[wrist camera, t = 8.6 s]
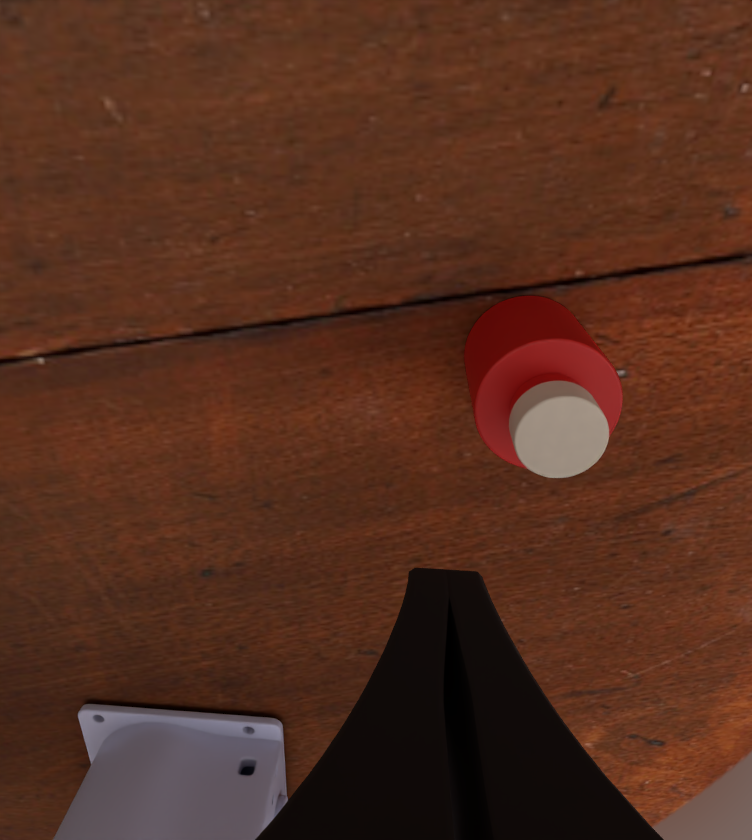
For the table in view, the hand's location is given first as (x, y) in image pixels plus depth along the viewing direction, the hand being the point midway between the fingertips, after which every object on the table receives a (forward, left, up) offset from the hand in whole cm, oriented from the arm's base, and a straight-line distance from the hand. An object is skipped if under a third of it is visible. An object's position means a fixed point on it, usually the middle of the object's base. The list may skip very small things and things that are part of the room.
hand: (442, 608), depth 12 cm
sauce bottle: (-3, -2, -10) cm, 10 cm away
